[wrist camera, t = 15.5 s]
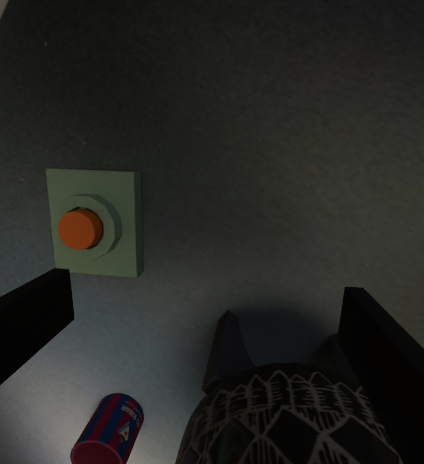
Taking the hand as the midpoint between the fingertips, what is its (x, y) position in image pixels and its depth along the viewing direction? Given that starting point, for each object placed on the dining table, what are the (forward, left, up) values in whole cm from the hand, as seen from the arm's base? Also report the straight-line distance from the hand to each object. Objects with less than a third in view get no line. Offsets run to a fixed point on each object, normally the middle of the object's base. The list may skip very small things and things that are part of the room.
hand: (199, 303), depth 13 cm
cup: (+30, -15, -19) cm, 38 cm away
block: (+1, -15, -19) cm, 24 cm away
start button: (+1, -15, -15) cm, 21 cm away
